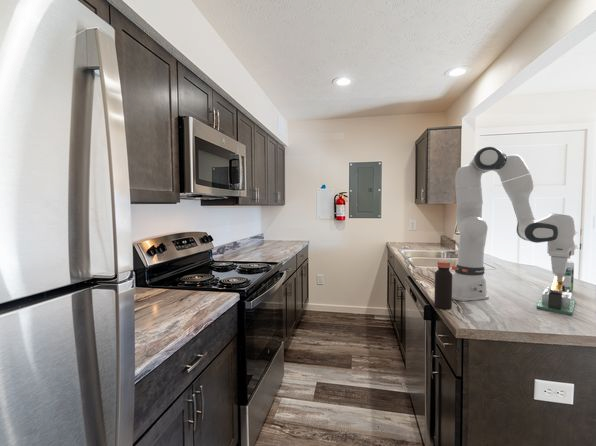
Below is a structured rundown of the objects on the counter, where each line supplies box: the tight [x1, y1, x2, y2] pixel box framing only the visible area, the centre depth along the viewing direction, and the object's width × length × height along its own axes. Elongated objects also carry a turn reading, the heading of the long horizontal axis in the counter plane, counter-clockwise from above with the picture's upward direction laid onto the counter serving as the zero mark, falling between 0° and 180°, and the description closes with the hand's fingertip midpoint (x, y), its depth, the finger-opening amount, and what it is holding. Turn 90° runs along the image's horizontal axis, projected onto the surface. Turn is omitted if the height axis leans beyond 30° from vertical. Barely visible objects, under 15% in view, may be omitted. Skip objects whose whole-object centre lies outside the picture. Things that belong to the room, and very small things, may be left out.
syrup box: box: [554, 260, 575, 291], centre depth 150 cm, size 6×6×14 cm
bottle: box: [433, 260, 453, 310], centre depth 125 cm, size 7×7×20 cm
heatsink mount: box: [536, 285, 576, 316], centre depth 126 cm, size 23×11×7 cm, turn 134°
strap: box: [549, 275, 564, 294], centre depth 126 cm, size 18×4×1 cm, turn 134°
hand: (560, 280), depth 128 cm, fingers closed
